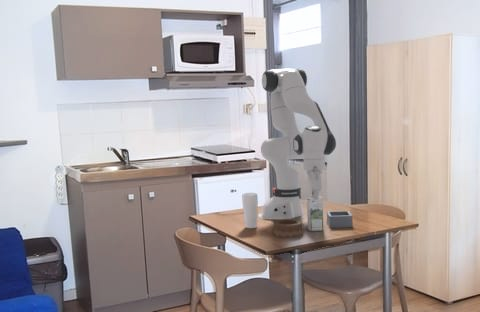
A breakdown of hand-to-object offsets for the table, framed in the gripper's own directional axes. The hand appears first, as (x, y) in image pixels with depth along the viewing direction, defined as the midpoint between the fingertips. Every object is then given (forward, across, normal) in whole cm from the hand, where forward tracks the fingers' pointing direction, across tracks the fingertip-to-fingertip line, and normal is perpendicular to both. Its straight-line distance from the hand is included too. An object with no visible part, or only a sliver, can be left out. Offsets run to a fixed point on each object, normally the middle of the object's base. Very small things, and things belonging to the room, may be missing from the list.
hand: (315, 197), depth 215 cm
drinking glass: (+14, +8, +28) cm, 32 cm away
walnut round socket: (+14, -5, +12) cm, 19 cm away
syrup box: (+14, 0, 0) cm, 14 cm away
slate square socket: (+14, +8, -11) cm, 19 cm away
